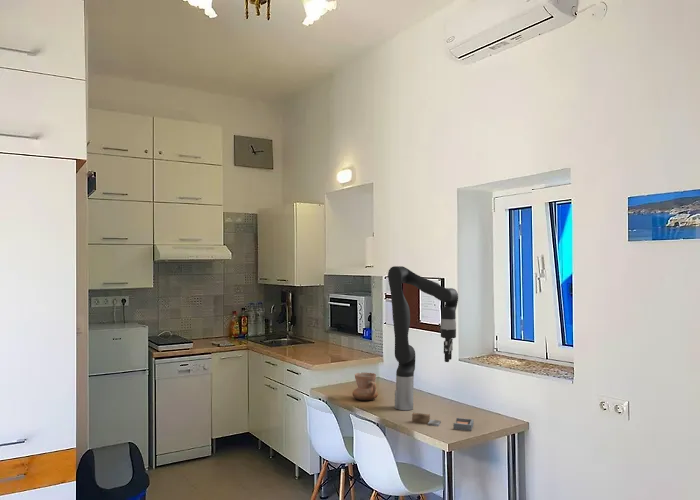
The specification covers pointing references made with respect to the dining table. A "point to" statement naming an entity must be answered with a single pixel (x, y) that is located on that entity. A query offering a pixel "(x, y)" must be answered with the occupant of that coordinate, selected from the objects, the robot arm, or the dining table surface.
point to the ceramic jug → (365, 386)
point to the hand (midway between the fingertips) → (448, 360)
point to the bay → (464, 426)
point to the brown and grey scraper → (424, 419)
